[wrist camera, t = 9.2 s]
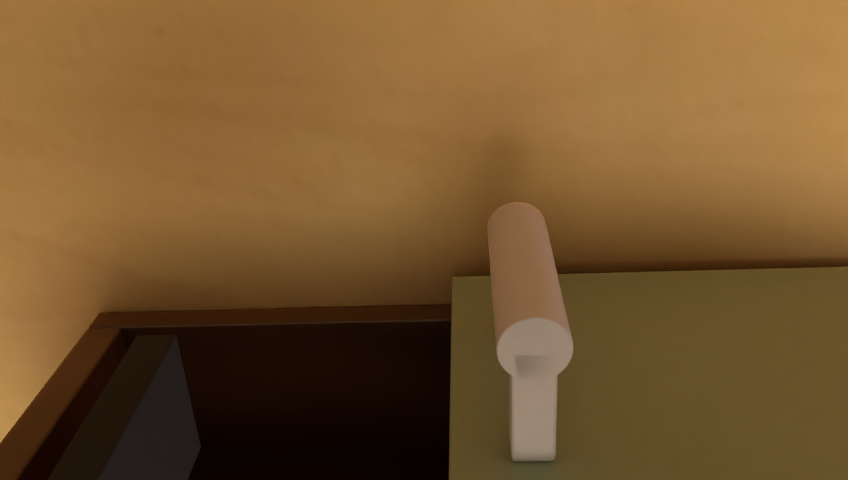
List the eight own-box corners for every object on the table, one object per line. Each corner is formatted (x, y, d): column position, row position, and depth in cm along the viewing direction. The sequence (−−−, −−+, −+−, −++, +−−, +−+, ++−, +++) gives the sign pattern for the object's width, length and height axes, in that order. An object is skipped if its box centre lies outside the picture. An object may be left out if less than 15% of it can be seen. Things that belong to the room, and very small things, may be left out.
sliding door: (447, 165, 25) (440, 350, 16) (924, 149, 24) (1206, 334, 15) (452, 302, 27) (449, 534, 18) (891, 291, 26) (1121, 529, 17)
